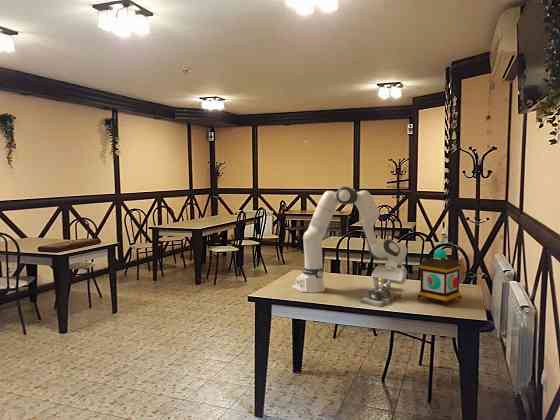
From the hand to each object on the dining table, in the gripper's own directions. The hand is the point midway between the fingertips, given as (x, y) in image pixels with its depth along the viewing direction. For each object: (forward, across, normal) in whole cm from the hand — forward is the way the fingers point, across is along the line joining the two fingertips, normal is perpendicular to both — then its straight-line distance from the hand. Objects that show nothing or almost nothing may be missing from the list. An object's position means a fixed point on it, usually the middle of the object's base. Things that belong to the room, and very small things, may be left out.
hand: (383, 287), depth 245 cm
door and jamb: (+7, 0, +3) cm, 8 cm away
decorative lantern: (-8, +25, +18) cm, 32 cm away
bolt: (+7, 0, -1) cm, 7 cm away
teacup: (-10, -13, +20) cm, 26 cm away
